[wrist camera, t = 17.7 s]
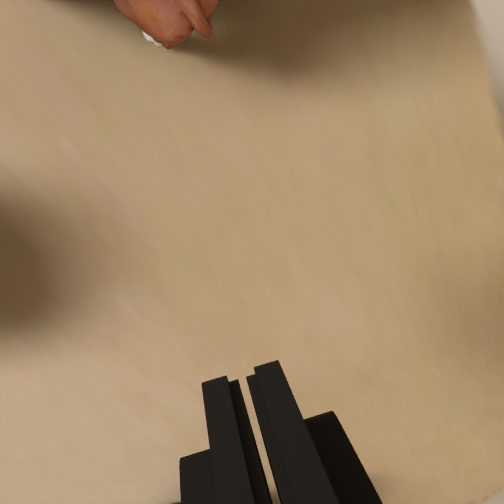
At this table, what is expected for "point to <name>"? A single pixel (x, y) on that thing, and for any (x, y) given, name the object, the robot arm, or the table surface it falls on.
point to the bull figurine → (169, 18)
